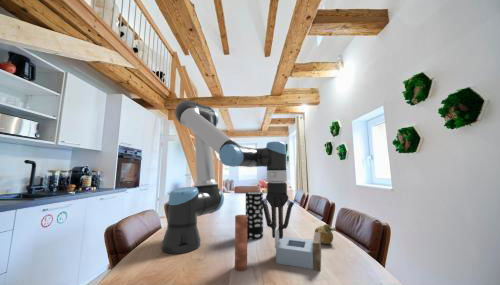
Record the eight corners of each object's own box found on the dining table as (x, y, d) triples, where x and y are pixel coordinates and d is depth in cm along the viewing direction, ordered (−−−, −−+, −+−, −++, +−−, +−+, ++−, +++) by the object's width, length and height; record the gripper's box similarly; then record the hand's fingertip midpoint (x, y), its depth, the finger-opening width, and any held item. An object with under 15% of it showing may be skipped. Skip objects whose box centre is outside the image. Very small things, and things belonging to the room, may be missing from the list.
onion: (325, 239, 91) (324, 220, 92) (338, 245, 84) (337, 225, 85) (311, 240, 89) (310, 222, 90) (323, 247, 81) (322, 226, 82)
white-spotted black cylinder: (265, 235, 96) (265, 192, 99) (259, 240, 89) (258, 194, 91) (250, 232, 100) (250, 191, 102) (242, 238, 92) (242, 193, 95)
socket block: (276, 263, 67) (276, 247, 68) (283, 249, 79) (282, 236, 79) (313, 269, 63) (312, 252, 64) (315, 254, 74) (314, 240, 75)
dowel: (232, 269, 63) (233, 216, 65) (237, 264, 67) (238, 214, 69) (244, 271, 62) (244, 217, 64) (249, 266, 65) (249, 215, 68)
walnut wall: (313, 269, 63) (312, 242, 64) (315, 254, 74) (314, 231, 75) (320, 270, 62) (319, 243, 63) (321, 255, 74) (320, 232, 75)
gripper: (257, 182, 75) (257, 248, 72) (292, 183, 71) (294, 254, 68) (263, 181, 82) (263, 241, 79) (295, 181, 78) (297, 246, 75)
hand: (277, 247), depth 74 cm, fingers closed
